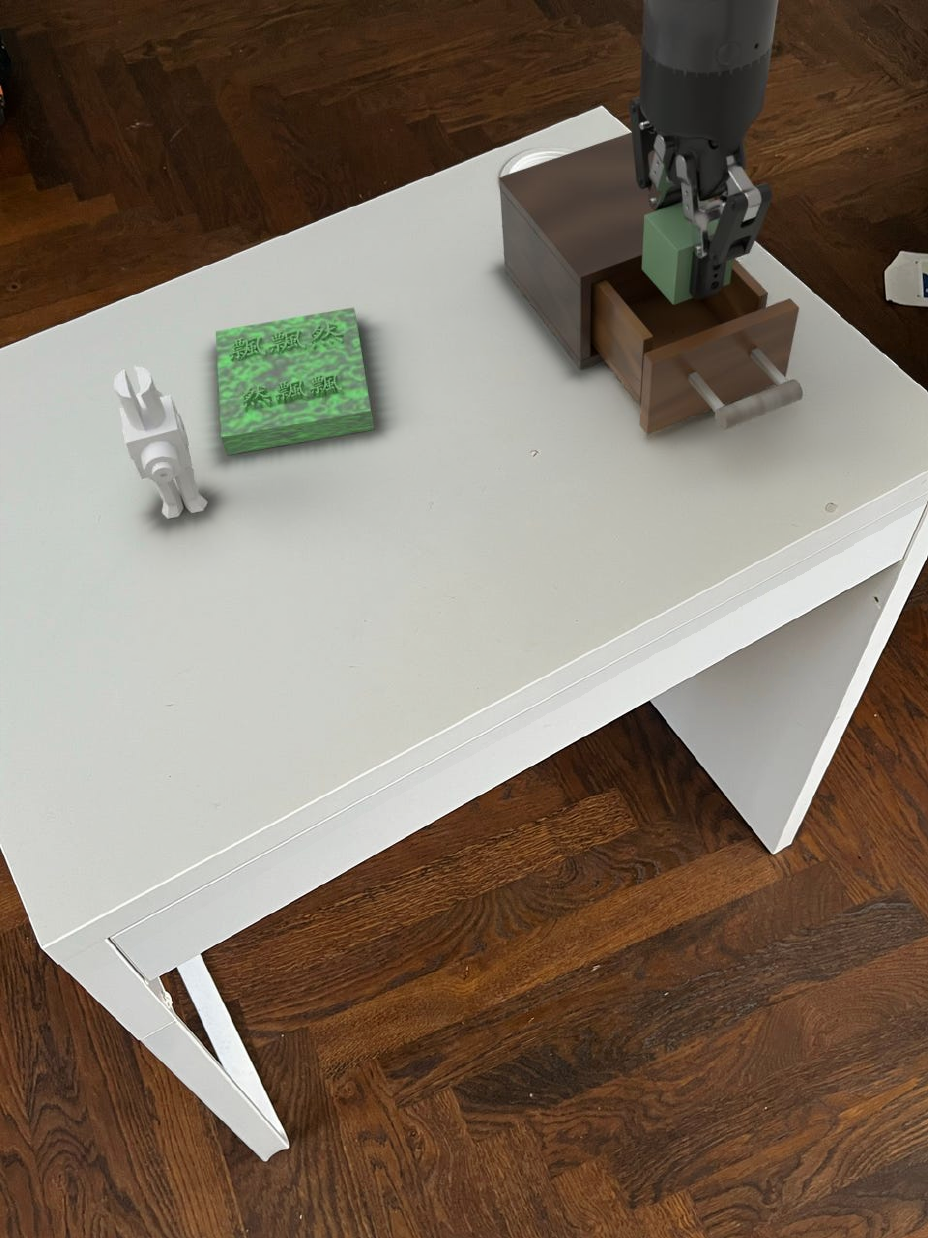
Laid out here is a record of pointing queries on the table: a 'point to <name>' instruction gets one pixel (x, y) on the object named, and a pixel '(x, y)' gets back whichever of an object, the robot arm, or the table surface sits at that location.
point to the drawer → (695, 348)
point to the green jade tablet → (291, 381)
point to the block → (672, 251)
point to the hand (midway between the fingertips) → (685, 272)
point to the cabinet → (573, 234)
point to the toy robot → (158, 442)
